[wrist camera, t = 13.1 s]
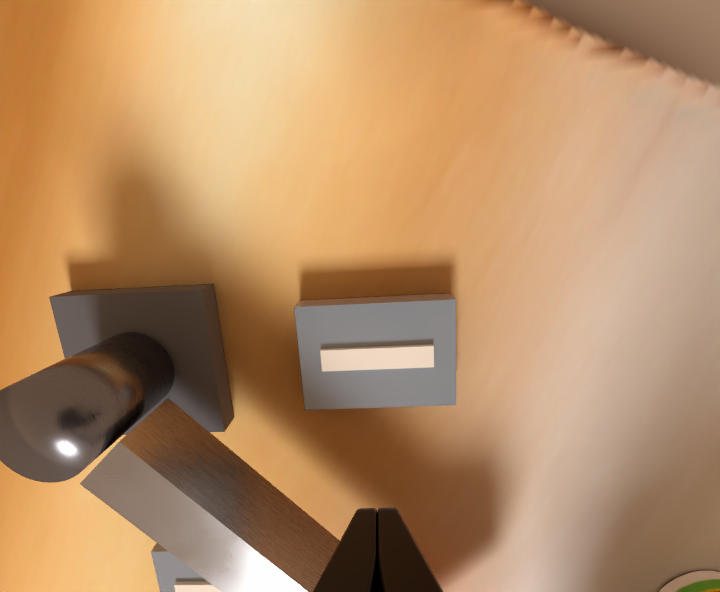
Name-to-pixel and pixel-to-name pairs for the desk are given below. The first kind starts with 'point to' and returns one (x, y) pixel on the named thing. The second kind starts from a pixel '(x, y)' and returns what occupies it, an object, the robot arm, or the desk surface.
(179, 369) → the pivot base
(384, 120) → the desk surface
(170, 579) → the label tile
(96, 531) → the desk surface
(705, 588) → the supplement bottle
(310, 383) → the label tile
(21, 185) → the desk surface
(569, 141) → the desk surface
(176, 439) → the swing arm
